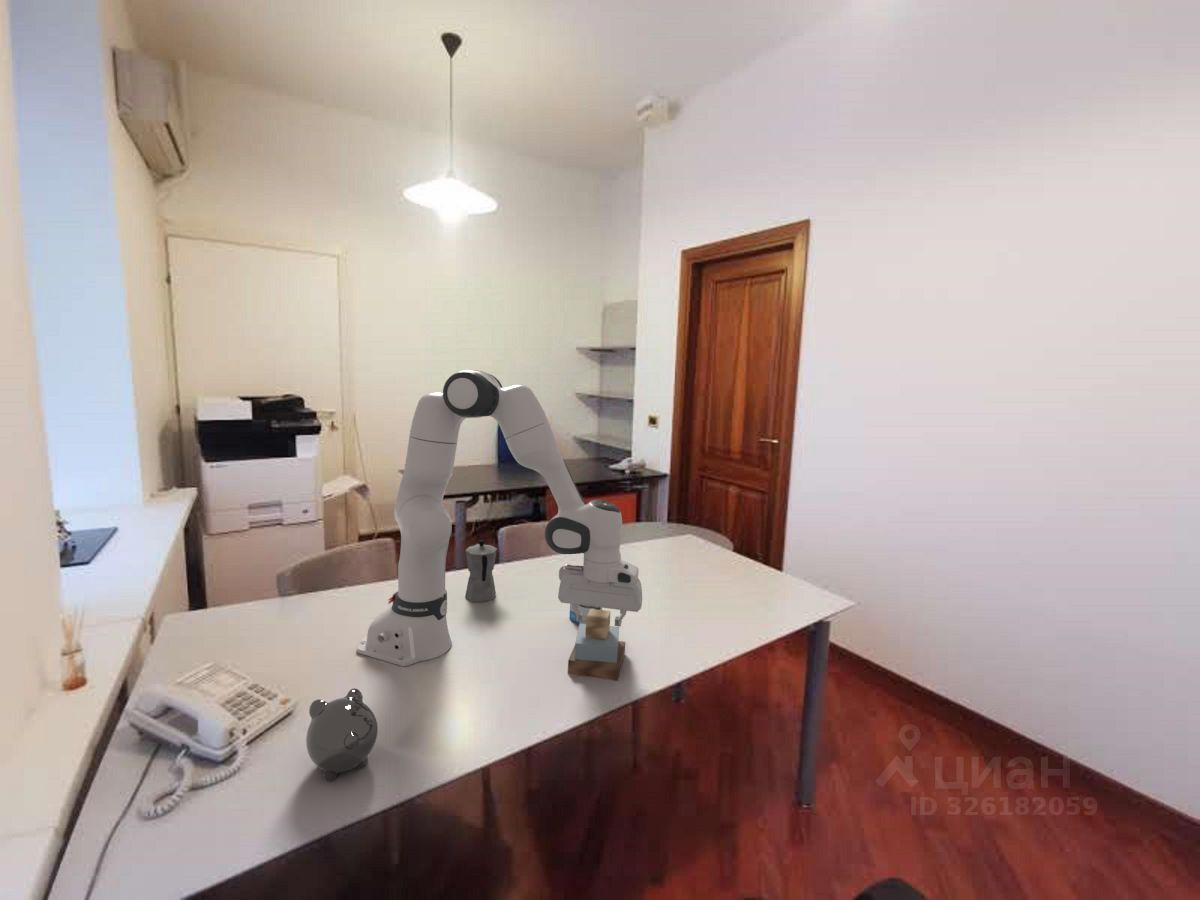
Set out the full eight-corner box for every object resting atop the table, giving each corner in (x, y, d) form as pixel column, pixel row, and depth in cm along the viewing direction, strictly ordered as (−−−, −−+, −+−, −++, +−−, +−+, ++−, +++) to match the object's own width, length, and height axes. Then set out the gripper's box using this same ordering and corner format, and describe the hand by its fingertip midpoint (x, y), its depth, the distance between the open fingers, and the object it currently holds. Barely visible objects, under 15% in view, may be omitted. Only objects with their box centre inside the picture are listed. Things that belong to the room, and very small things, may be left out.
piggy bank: (363, 728, 105) (362, 674, 104) (388, 775, 94) (387, 715, 92) (299, 751, 99) (296, 693, 97) (317, 805, 87) (315, 741, 85)
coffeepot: (463, 588, 172) (463, 534, 169) (493, 586, 175) (494, 532, 172) (467, 610, 157) (468, 550, 154) (500, 606, 160) (501, 548, 158)
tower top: (574, 659, 127) (575, 643, 127) (579, 638, 137) (579, 623, 137) (616, 662, 127) (617, 647, 126) (618, 641, 137) (619, 626, 136)
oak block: (585, 637, 130) (586, 617, 129) (589, 627, 135) (590, 608, 134) (605, 640, 129) (606, 620, 128) (609, 630, 134) (610, 611, 133)
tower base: (567, 675, 128) (568, 659, 127) (578, 650, 139) (578, 635, 139) (617, 683, 126) (618, 667, 125) (624, 656, 137) (625, 641, 137)
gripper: (556, 568, 128) (553, 623, 130) (642, 578, 124) (638, 634, 127) (562, 559, 134) (560, 611, 136) (644, 568, 131) (641, 622, 133)
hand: (598, 622), depth 131 cm, fingers open, 8 cm apart
